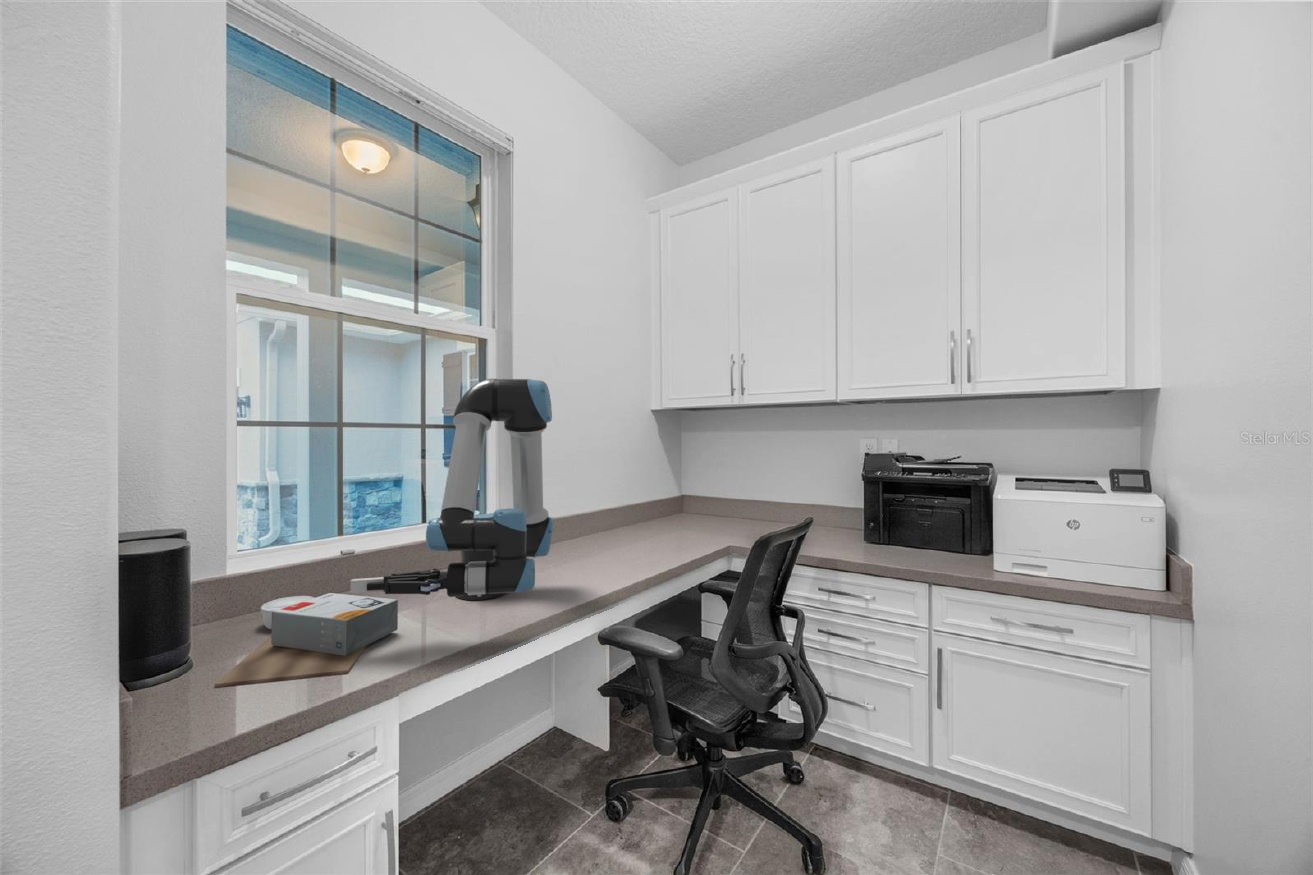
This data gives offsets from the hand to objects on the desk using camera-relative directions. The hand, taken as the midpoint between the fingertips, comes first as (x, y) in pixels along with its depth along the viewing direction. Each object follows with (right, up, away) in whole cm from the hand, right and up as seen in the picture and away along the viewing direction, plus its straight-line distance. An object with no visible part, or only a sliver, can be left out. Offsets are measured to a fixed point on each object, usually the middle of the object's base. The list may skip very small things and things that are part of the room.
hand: (351, 586), depth 113 cm
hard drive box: (+4, -10, +3) cm, 11 cm away
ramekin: (-25, -14, +16) cm, 33 cm away
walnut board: (-8, -14, -2) cm, 16 cm away
